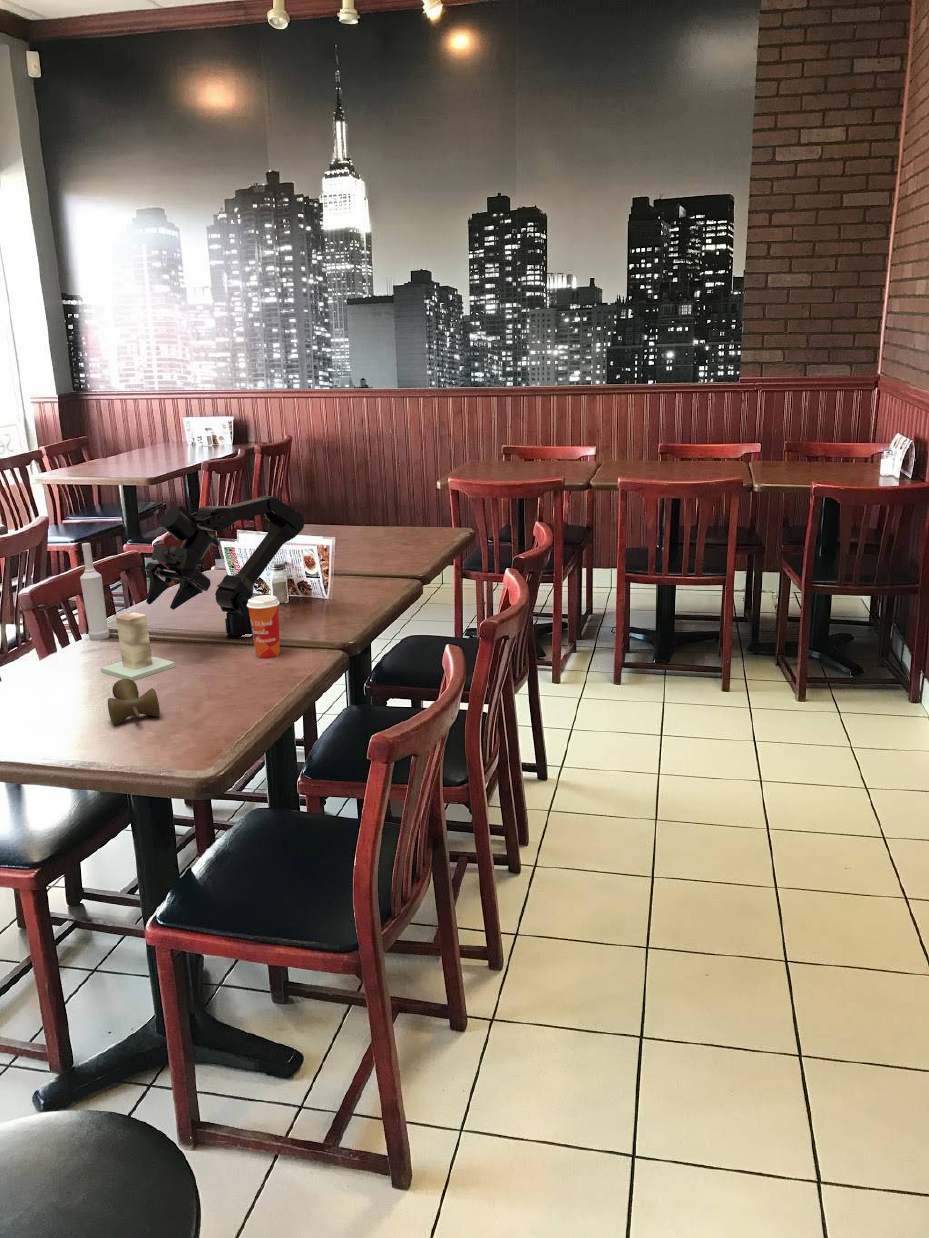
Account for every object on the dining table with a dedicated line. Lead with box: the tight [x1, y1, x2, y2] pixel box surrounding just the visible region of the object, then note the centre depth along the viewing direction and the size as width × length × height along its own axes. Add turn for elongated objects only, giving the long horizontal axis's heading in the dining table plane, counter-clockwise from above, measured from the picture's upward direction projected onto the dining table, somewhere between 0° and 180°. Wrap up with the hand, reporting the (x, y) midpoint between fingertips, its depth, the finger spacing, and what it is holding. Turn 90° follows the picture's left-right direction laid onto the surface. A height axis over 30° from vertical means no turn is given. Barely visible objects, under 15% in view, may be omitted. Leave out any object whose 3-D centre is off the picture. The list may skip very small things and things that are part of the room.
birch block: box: [115, 611, 153, 670], centre depth 233 cm, size 5×5×12 cm
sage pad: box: [100, 655, 176, 682], centre depth 234 cm, size 12×12×1 cm
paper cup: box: [247, 594, 281, 659], centre depth 240 cm, size 8×8×14 cm
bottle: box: [79, 542, 110, 641], centre depth 258 cm, size 5×5×25 cm
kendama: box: [107, 678, 161, 726], centre depth 206 cm, size 6×10×20 cm
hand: (159, 606), depth 237 cm, fingers open, 9 cm apart
